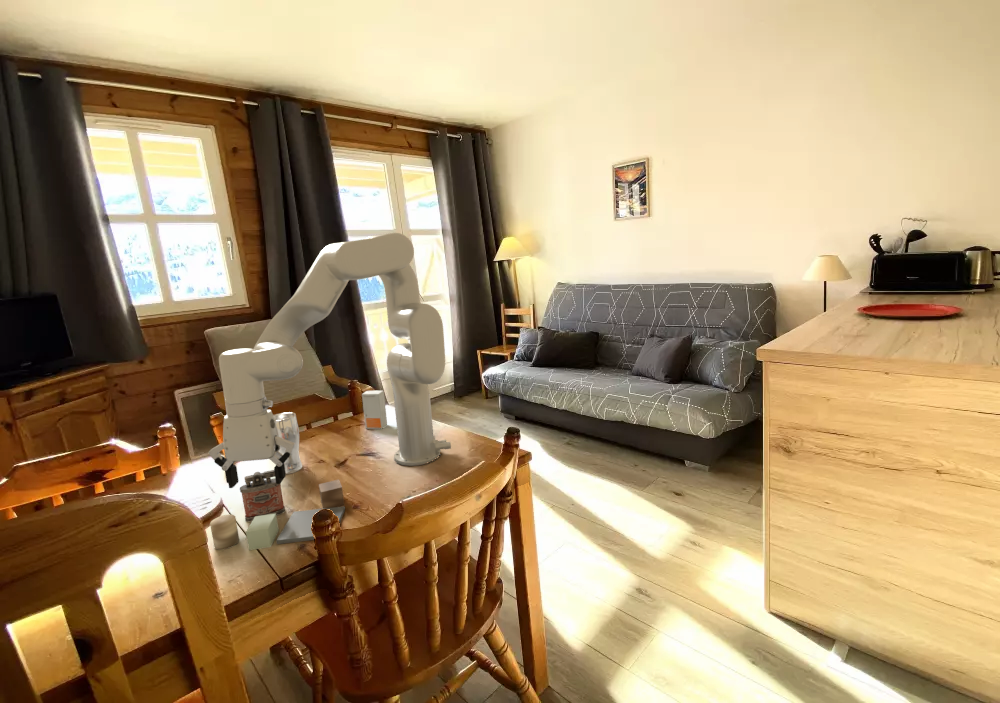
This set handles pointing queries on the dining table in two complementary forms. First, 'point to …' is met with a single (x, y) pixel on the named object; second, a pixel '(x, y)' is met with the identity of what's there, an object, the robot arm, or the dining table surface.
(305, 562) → the dining table surface
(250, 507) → the lighter
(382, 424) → the skincare box
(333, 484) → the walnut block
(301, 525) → the coaster
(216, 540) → the beech cylinder
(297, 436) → the beer glass
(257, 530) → the sage block
